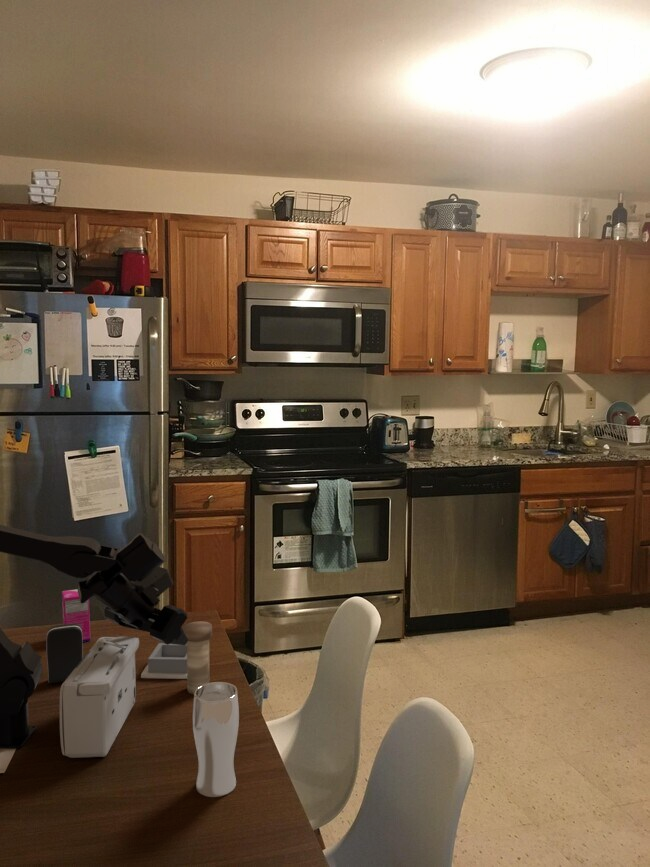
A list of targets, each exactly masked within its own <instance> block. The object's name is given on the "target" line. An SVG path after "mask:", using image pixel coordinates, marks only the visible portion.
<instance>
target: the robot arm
mask: <svg viewBox="0 0 650 867" xmlns="http://www.w3.org/2000/svg"><path fill="white" fill-rule="evenodd" d="M0 553H4V554H8V555H11V556H12V555H13V556H16V557H21V558H24V559H31V560H34V561H39V562H42V563H45V564H47V565H48V566H50V567H51V568H52V569H54V570H56V571H58V572H60V573H62V574H65V575H67V576H70V577H73V578H76V579H85V578H87V577H88V578H87V579H85V580H81V581H78V583H77V584H78V588H77V589H78V595H79V599H80V602H81V603H85V602H86V601H87V600H88V599H89V600H90V599H91V598H92V597H94V598H95V599H96V600H98V601H100V603H102V604H103V605H104V606H106V607H105V608H104V614H103V615H104V617H105V618H106V619H107V620H109V621H110V622H112V623H114V624H117V625H119V626H121V627H125V628H128V629H133V630H137V631H143V632H146V633H149V636H150V637H152V638H153V639H154V640H156V641H157V642H158V643H164V644H167V645H168V644H177V645H186V644H187V642H188V639H187V637H186V635H185V633H184V628H183V626H184V624H185V622H186V621H187V619H188V613H187V612H186V611H185V610H183V608H180V607H178V606H174V605H172V604H167V605H164V606H163V607H162V609H160V608H156V607H157V606H158V604H159V603H160V601H161V600H160V599H159V598H158V597H159V596H161V595H163V593H164V592H166V591H167V590H168V589H169V588H170V589H171V588H172V587H173V586H174V581H173V578H172V577H171V574H170V571H169V570H168V568H165V567H161V566H162V565H164V563H166V562H167V559H166V556H165V554H164V553H163V551H162V550H161V549H160V548H159V546H158V545H157V544H156V543H155V542H153V541H151V540H150V538H148V537H146V536H145V535H144V534H143V532H139V533H138V534H137V535H135V536H134V537H133V538H132V540H131V541H129V542H128V543H127V544H125V545H124V546H123V547H122V548H117V547H114V546H113V547H112V546H108V545H103V544H100V542H99V541H97V539H95V538H92V537H88V536H86V537H85V536H75V535H69V536H68V535H66V536H65V535H64V536H49V535H45V534H41V533H36V532H33V531H29V530H23V529H21V528H16V527H12V526H7V525H3V524H0ZM42 658H43V657H42V656H41V655H40V654H38V653H37V652H36V651H35V650H34V648H33V646H32V644H31V643H30V642H29V641H28V640H27V641H26V642H24V643H23V644H22V645H19V644H18V643H16V642H13V641H12V640H11V639H10V638H9V637H8V636H7V635H6V633H5V632H4V631H3V629H1V627H0V748H4V749H5V748H7V749H8V748H10V749H12V748H13V749H15V748H17V749H18V748H19V749H20V748H22V746H24V744H25V743H26V742H27V741H28V740H29V739H30V737H31V736H33V734H34V732H36V730H37V729H38V726H37V725H34V724H33V725H30V724H29V702H28V701H29V698H30V697H31V696H32V695H33V693H34V692H35V689H36V688H37V685H38V683H39V682H40V680H41V678H42V676H43V669H44V667H43V664H42V662H41V661H42Z"/></svg>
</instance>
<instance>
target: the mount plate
mask: <svg viewBox="0 0 650 867" xmlns="http://www.w3.org/2000/svg"><path fill="white" fill-rule="evenodd" d="M140 679H171V680H172V679H174V680H187V643H186V645H177V644H168V645H167V644H164V643H162V642H158V644H157V645H156V647H155V648H154V649H153V651H152V653H151V654H150V656H149V657H148V658H147V664H146V666H145V668H144V669H143V670H142V672H141V674H140Z"/></svg>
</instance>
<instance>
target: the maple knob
mask: <svg viewBox="0 0 650 867" xmlns="http://www.w3.org/2000/svg"><path fill="white" fill-rule="evenodd" d="M183 631H184V633H185V635H186V637H187V639H188V642H187V643H186V644H187V679H186V681H187V684H186V685H187V686H186V687H187V692H188V694H191V695H194V691H195V690H196V689H197V688H198V687H199V686H201V685H204V684H207V683H211V682H210V681H211V680H210V640H211V638H212V637H213V624H212V623H210V622H208V621H202V620H201V621H192V622H188V623H186V624H185V625H183Z"/></svg>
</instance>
